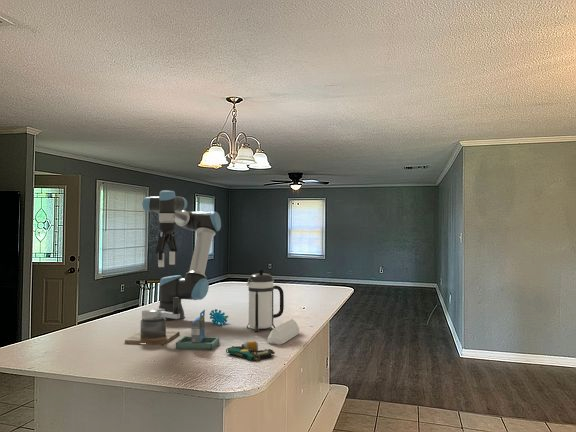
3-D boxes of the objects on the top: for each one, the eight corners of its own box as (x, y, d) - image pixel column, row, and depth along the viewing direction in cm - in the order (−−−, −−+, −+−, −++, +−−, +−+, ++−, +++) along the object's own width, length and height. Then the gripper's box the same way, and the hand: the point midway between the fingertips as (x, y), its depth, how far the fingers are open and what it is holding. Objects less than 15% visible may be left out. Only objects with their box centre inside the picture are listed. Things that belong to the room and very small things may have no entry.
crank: (136, 320, 195) (137, 295, 195) (154, 316, 204) (154, 292, 204) (169, 325, 185) (170, 299, 185) (186, 321, 193) (186, 296, 194)
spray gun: (278, 359, 169) (245, 368, 160) (255, 347, 183) (223, 355, 174) (278, 349, 169) (245, 357, 160) (255, 337, 183) (223, 344, 174)
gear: (213, 324, 219) (208, 308, 225) (208, 331, 221) (203, 315, 228) (232, 324, 226) (226, 308, 232) (226, 330, 228) (221, 315, 235)
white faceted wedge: (284, 337, 184) (304, 325, 206) (271, 327, 187) (292, 317, 209) (276, 351, 186) (297, 338, 208) (263, 342, 188) (285, 329, 210)
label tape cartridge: (196, 337, 189) (196, 308, 190) (205, 337, 189) (205, 309, 190) (190, 342, 180) (191, 313, 181) (200, 342, 180) (200, 313, 181)
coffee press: (271, 334, 205) (271, 270, 206) (240, 331, 211) (240, 269, 211) (284, 326, 221) (284, 267, 222) (255, 323, 227) (255, 266, 228)
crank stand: (143, 333, 207) (143, 315, 207) (179, 334, 204) (179, 316, 205) (124, 343, 189) (124, 323, 189) (164, 344, 187) (164, 325, 187)
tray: (184, 342, 191) (184, 336, 191) (219, 343, 189) (219, 337, 189) (175, 348, 180) (175, 342, 181) (212, 350, 179) (212, 344, 179)
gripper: (164, 222, 200) (163, 268, 199) (183, 222, 225) (183, 263, 224) (148, 222, 201) (148, 268, 200) (169, 222, 226) (169, 263, 225)
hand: (166, 265), depth 212 cm, fingers open, 13 cm apart
